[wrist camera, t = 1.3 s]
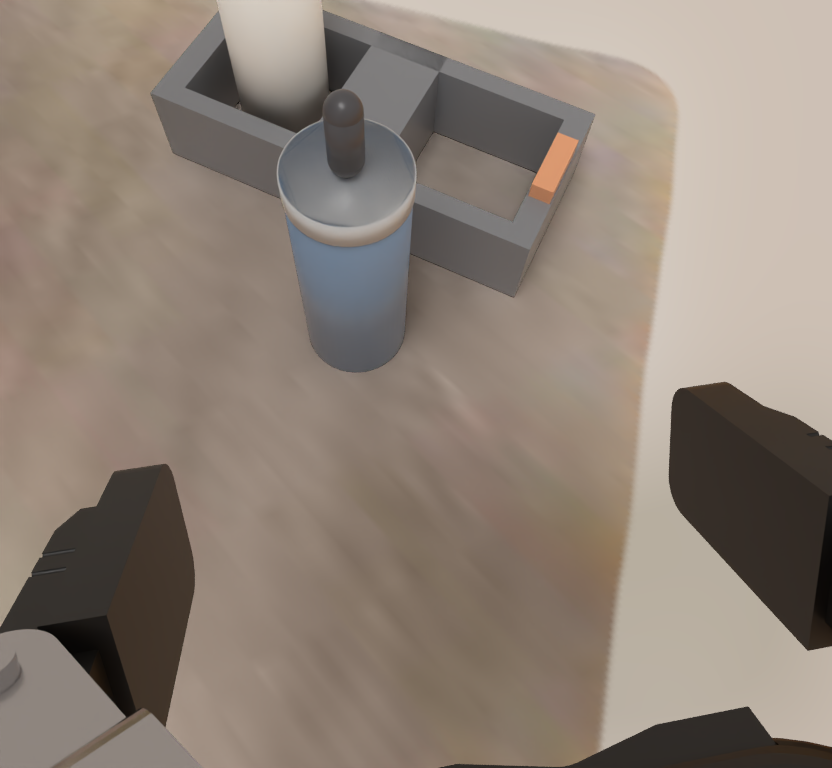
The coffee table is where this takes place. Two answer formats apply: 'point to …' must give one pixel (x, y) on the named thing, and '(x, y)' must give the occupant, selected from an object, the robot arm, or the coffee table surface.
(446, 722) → the coffee table surface
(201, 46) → the gray two-compartment caddy
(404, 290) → the canister
